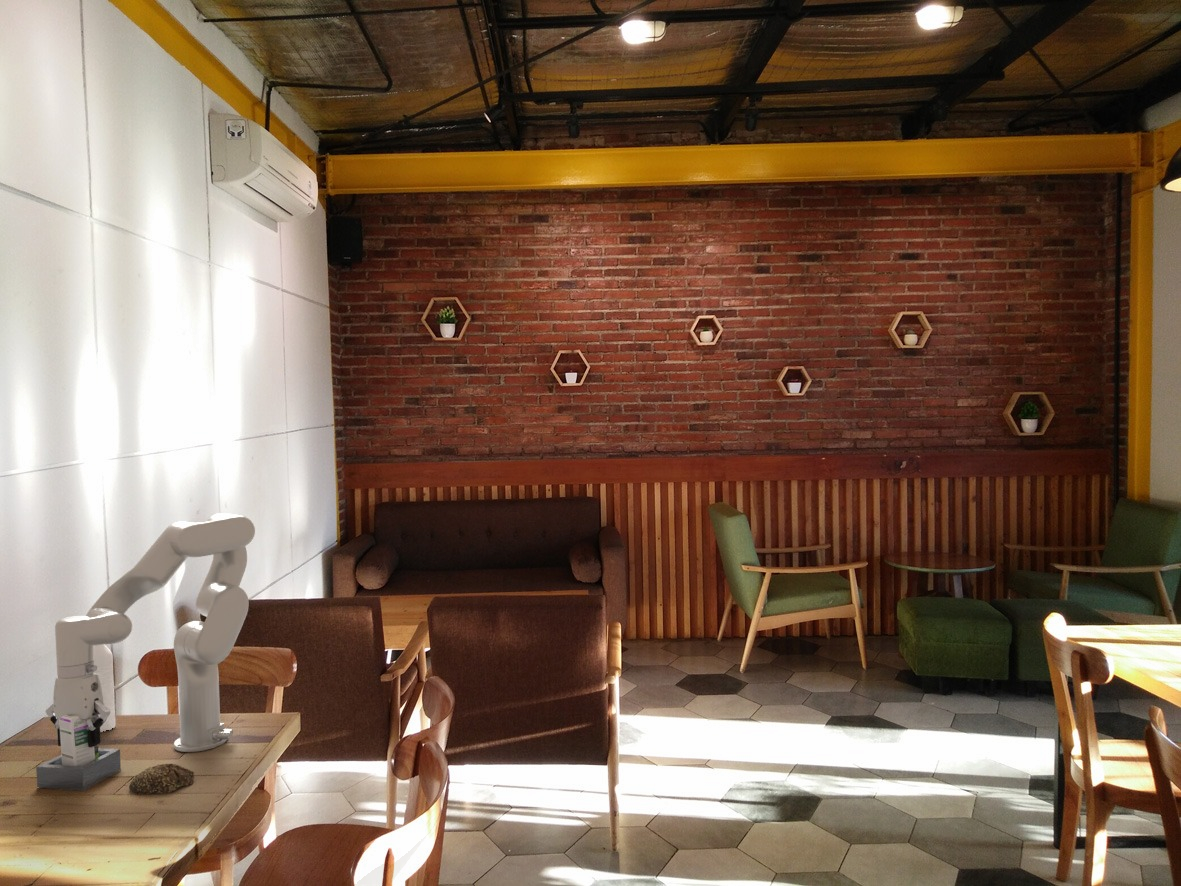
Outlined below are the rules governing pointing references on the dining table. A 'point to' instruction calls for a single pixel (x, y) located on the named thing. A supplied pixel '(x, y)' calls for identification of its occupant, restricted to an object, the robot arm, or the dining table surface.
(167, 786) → the bread roll
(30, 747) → the dining table surface
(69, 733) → the syrup box
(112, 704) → the water bottle
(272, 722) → the dining table surface
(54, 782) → the socket
